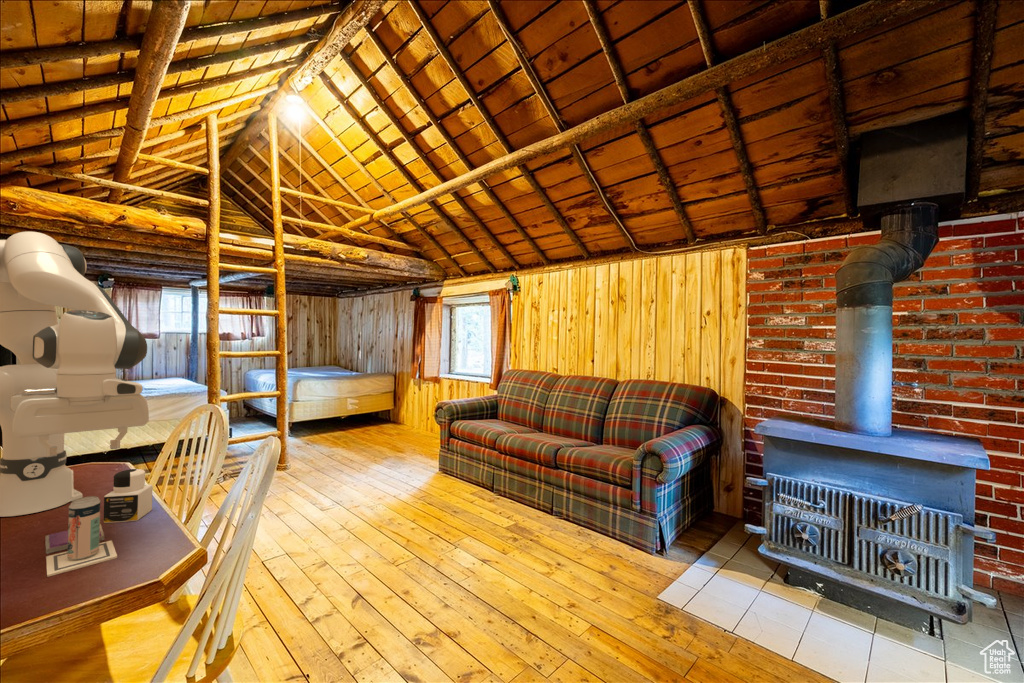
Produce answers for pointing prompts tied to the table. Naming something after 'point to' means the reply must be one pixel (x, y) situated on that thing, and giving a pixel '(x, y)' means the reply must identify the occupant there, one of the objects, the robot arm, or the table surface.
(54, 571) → the marked card
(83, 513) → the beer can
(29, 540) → the table surface
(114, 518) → the medicine bottle
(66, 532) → the ink pad
